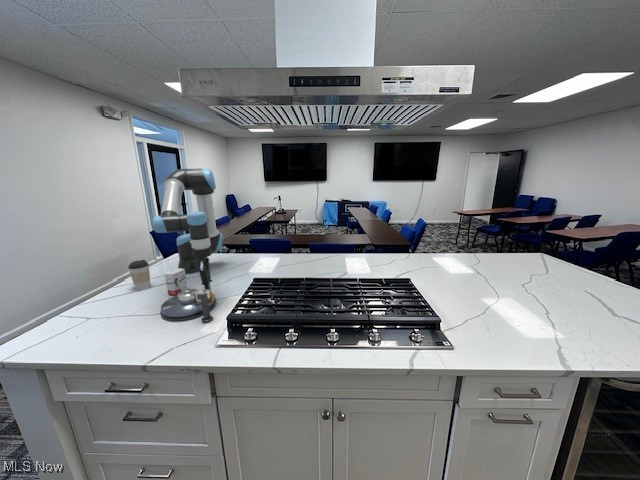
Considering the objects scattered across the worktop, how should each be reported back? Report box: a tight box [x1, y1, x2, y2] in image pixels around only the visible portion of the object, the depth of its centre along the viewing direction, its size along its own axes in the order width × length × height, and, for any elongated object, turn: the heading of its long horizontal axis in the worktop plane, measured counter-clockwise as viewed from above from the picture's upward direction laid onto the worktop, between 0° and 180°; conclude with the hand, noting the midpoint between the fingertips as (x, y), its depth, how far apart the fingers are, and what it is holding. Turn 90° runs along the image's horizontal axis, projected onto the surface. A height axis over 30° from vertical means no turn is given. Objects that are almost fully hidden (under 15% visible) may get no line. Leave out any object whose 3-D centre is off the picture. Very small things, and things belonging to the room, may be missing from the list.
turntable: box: [160, 291, 216, 318], centre depth 114 cm, size 22×22×6 cm
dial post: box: [196, 288, 214, 324], centre depth 104 cm, size 5×5×13 cm
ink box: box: [164, 267, 188, 296], centre depth 130 cm, size 9×5×12 cm, turn 167°
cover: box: [178, 287, 199, 305], centre depth 114 cm, size 8×8×6 cm
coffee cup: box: [128, 259, 151, 291], centre depth 135 cm, size 9×9×15 cm
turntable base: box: [160, 297, 218, 323], centre depth 115 cm, size 23×23×1 cm
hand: (209, 296), depth 115 cm, fingers closed
